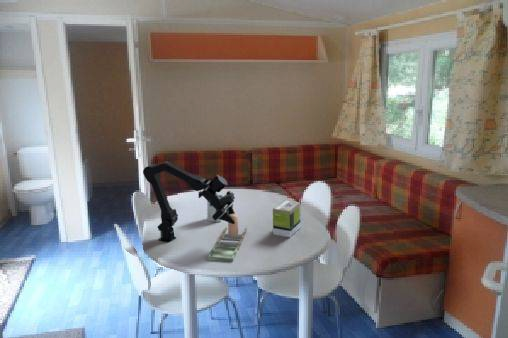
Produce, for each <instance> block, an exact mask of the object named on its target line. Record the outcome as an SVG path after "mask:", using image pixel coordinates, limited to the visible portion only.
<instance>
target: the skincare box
mask: <svg viewBox="0 0 508 338" xmlns="http://www.w3.org/2000/svg"><path fill="white" fill-rule="evenodd" d="M221 195H222V196H224V195H223V194H221ZM206 202H207V203H206V204H207V209H206V210H207V211H206V212H207V213H206V214H207V216H206V217H207V222H211V223H212V222H213V223H215V222H217V223H218V222H219V223H220V222H222V221H223V220H220V219H219V218H218V219H217V220H216V221H215V220H214V219H213V217H212V216H213V214H214V213H215V211H216V209H215V208H214V207H213V206H210V203H209V202H208V201H207V200H206Z"/></svg>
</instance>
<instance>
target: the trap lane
mask: <svg viewBox="0 0 508 338" xmlns="http://www.w3.org/2000/svg"><path fill="white" fill-rule="evenodd" d="M227 231H228V227H224V229H223V231H222V232H221V233H220V236H219V237H218V239H217V240H216V243H214V246H213V247H212V249H211V251H210V252H209V254H208V256H207V260H208V261H219V262H232V263H233V262H234V260H235V258H236V255H237V254H238V251H239V250H240V248H241V246H242V242H243V240H244V238H245V236H246V234H247V233H248V232H247V231H248V229H247V228H244V230H243V232H242V234H240V233H238V236H236V237H230V236H229V235H228V233H226V232H227ZM230 241H231V242H230ZM234 241H235V242H234Z"/></svg>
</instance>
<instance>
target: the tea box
mask: <svg viewBox="0 0 508 338" xmlns="http://www.w3.org/2000/svg"><path fill="white" fill-rule="evenodd" d="M301 213H302V212H301V202H299V201H298V202H297V201H292V200H286V199H285V200H283V201H281V202H280V203H279V204H278V205H276V206H275V207H273V208H272V234H273V235H275V236H279V237H280V236H281V237H284V238H291V237H292V236H293V235H294V234H295V233H297V231H298V230H299V229H300V228H301V224H302V221H301V220H302V219H301Z"/></svg>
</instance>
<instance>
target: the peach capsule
mask: <svg viewBox="0 0 508 338" xmlns="http://www.w3.org/2000/svg"><path fill="white" fill-rule="evenodd" d="M229 215H230V216H231V218H232V219H233V220H234V222H235V223H234V224H232V223H229V222H227V224H228V225H227V226H228V227H227V231H228V233H227V234H228V235H229V236H230V237H236V236H238V234H239V215H238V214H237V213H235V214H229Z"/></svg>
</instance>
